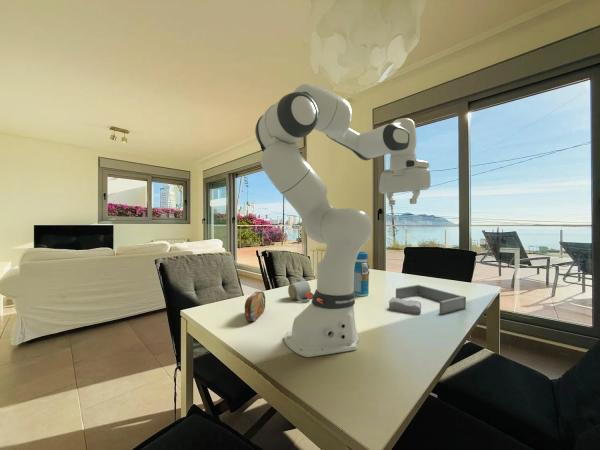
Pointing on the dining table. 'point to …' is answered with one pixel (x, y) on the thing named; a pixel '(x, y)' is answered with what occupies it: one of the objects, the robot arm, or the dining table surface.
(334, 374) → the dining table surface
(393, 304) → the stone block
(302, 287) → the ceramic mug
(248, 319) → the tin
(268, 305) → the dining table surface
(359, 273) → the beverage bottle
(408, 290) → the box
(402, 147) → the robot arm
